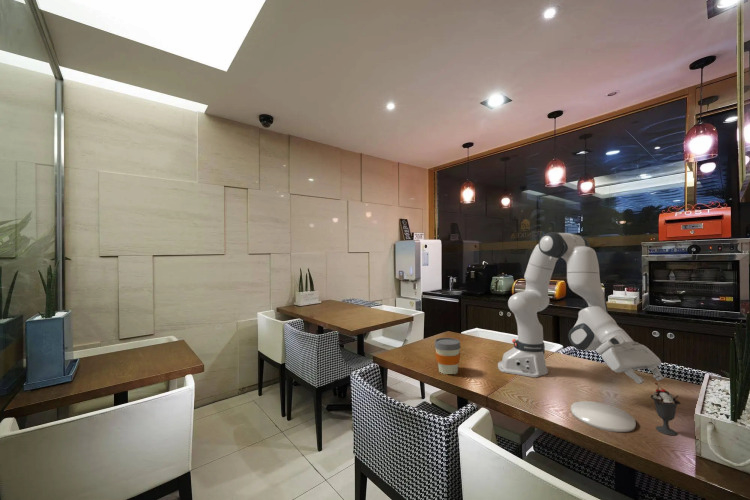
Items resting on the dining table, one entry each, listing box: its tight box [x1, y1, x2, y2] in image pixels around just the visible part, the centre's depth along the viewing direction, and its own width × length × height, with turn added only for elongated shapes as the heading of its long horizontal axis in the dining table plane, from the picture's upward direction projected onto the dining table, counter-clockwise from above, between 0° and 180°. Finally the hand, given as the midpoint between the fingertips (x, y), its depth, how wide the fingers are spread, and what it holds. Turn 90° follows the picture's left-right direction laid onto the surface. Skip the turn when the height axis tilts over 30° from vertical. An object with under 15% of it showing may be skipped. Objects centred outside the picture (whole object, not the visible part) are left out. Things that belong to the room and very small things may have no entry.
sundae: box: [650, 382, 681, 437], centre depth 96 cm, size 7×7×15 cm
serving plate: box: [570, 400, 637, 433], centre depth 105 cm, size 18×18×1 cm
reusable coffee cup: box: [434, 337, 461, 375], centre depth 149 cm, size 13×12×15 cm
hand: (651, 381), depth 99 cm, fingers open, 8 cm apart
